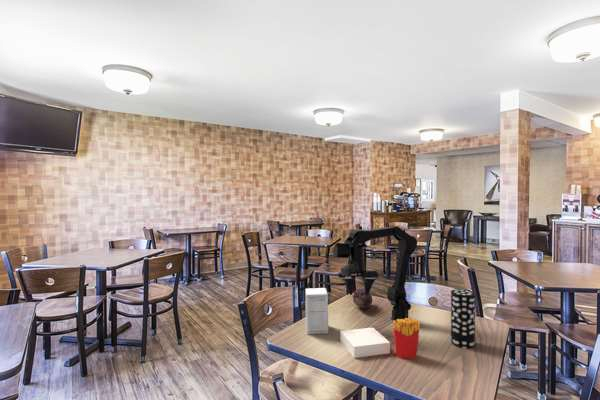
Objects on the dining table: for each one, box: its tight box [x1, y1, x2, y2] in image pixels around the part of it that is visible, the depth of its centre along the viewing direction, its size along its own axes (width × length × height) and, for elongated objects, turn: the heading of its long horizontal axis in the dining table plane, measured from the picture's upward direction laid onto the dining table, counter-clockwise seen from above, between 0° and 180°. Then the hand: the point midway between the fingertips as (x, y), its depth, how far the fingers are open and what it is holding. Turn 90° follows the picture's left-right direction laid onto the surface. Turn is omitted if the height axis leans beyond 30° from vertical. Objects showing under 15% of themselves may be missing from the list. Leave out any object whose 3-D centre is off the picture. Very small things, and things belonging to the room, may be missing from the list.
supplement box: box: [304, 287, 329, 335], centre depth 142 cm, size 10×9×17 cm
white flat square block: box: [339, 327, 391, 359], centre depth 126 cm, size 14×14×4 cm
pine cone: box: [352, 288, 373, 309], centre depth 168 cm, size 18×10×10 cm, turn 165°
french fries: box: [392, 317, 421, 359], centre depth 119 cm, size 9×4×13 cm, turn 85°
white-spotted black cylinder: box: [450, 288, 476, 350], centre depth 127 cm, size 8×8×20 cm
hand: (358, 295), depth 141 cm, fingers open, 9 cm apart
